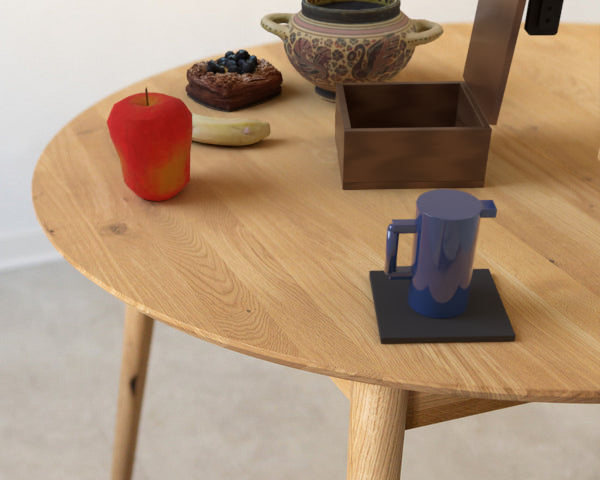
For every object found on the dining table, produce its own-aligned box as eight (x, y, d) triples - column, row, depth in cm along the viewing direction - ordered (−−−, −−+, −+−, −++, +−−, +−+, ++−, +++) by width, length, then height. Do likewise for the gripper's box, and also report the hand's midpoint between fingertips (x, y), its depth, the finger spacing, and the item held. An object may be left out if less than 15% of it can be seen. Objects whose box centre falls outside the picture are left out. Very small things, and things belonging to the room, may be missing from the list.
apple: (211, 181, 88) (203, 78, 81) (174, 215, 81) (162, 107, 74) (145, 168, 90) (131, 68, 83) (104, 201, 84) (86, 94, 77)
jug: (473, 283, 70) (488, 188, 64) (486, 318, 65) (503, 219, 60) (379, 285, 70) (385, 189, 64) (385, 320, 65) (392, 221, 60)
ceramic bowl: (439, 101, 114) (451, -9, 109) (429, 117, 98) (442, -12, 92) (277, 88, 119) (281, -18, 114) (242, 101, 103) (245, -22, 97)
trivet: (488, 273, 72) (488, 268, 72) (514, 341, 64) (516, 335, 64) (369, 275, 72) (369, 270, 72) (380, 343, 64) (381, 337, 63)
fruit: (237, 161, 92) (235, 135, 90) (144, 131, 99) (141, 106, 97) (273, 141, 97) (273, 115, 95) (182, 114, 104) (180, 89, 102)
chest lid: (528, -43, 72) (536, -42, 72) (493, -73, 84) (500, -73, 84) (489, 125, 82) (496, 125, 82) (462, 76, 94) (468, 77, 94)
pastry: (176, 95, 109) (172, 53, 106) (241, 74, 116) (239, 34, 113) (227, 116, 103) (224, 72, 99) (292, 93, 110) (292, 51, 106)
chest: (342, 189, 86) (344, 131, 82) (334, 135, 98) (335, 82, 94) (483, 187, 86) (492, 129, 82) (458, 133, 98) (465, 80, 94)
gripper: (645, -157, 67) (597, 56, 78) (589, -173, 79) (555, 13, 90) (558, -157, 67) (522, 56, 78) (516, -173, 79) (490, 13, 90)
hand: (540, 32), depth 84 cm, fingers closed
